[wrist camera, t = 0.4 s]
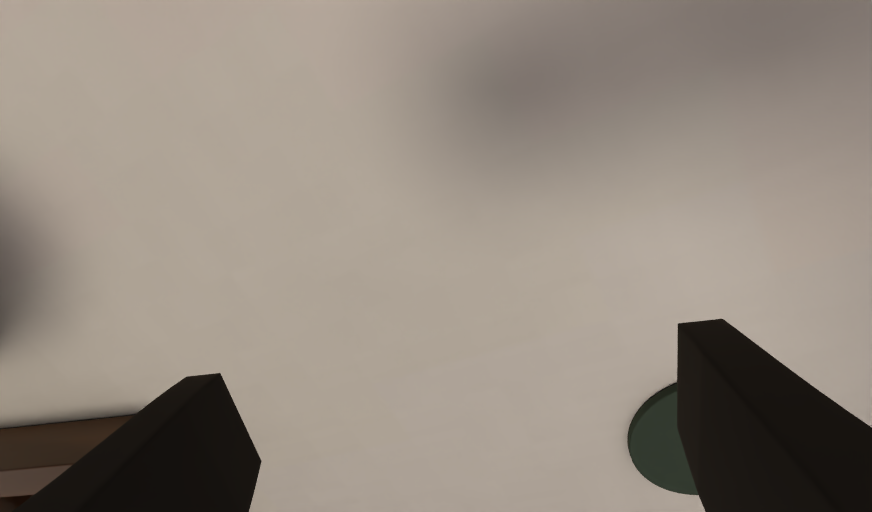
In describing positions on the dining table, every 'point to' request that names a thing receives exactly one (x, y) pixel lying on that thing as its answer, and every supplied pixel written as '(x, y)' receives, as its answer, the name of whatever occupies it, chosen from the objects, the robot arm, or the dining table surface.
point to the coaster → (660, 444)
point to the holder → (45, 454)
